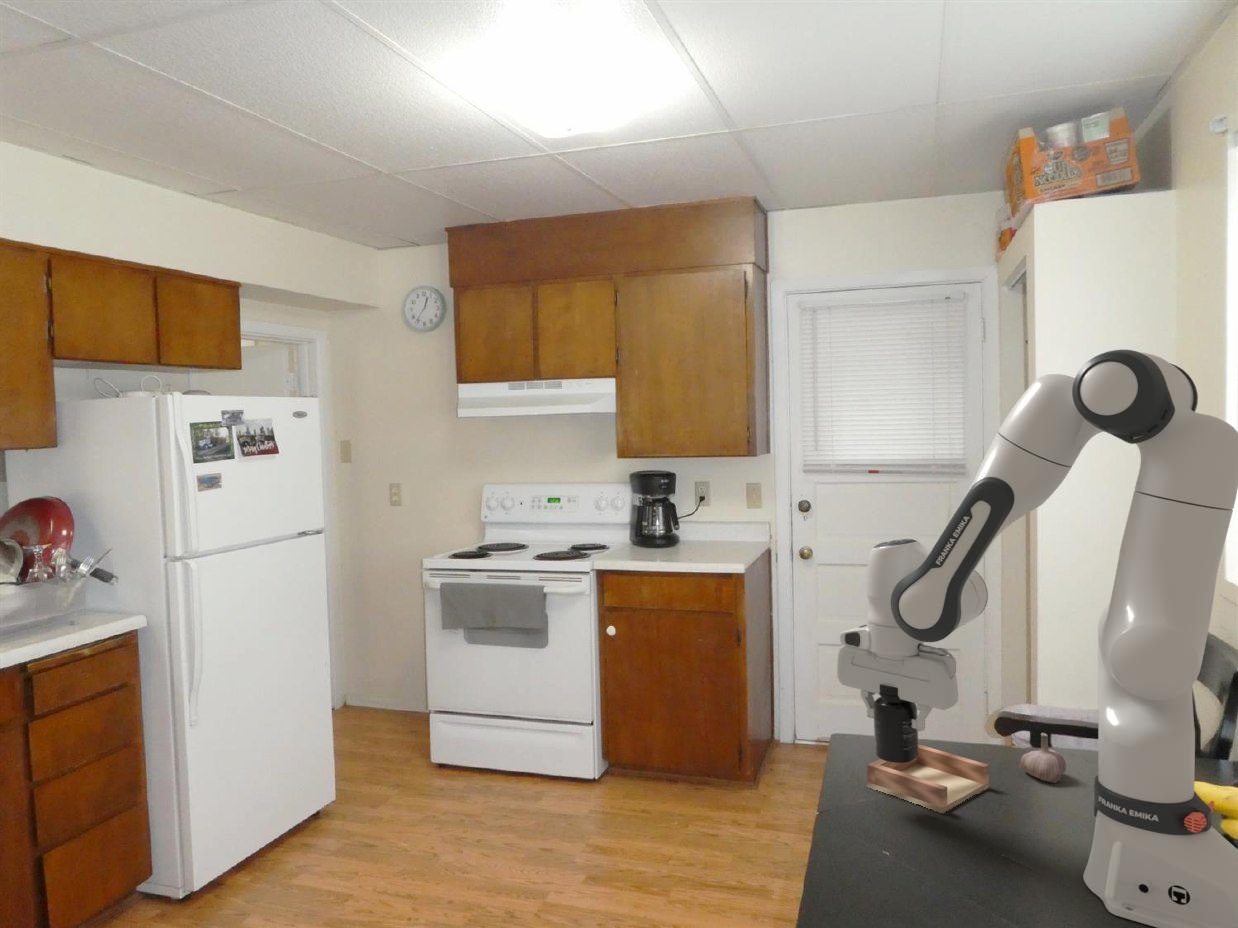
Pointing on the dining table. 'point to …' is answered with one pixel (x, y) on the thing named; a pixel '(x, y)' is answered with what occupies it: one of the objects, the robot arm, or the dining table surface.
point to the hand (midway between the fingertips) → (895, 723)
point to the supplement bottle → (894, 727)
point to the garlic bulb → (1044, 762)
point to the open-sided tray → (930, 779)
